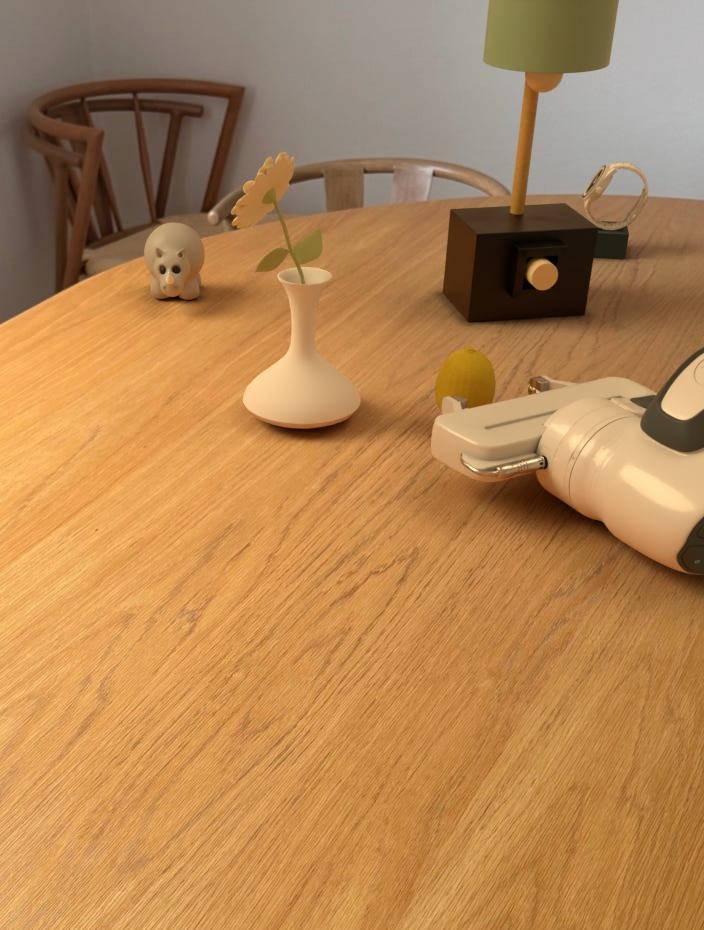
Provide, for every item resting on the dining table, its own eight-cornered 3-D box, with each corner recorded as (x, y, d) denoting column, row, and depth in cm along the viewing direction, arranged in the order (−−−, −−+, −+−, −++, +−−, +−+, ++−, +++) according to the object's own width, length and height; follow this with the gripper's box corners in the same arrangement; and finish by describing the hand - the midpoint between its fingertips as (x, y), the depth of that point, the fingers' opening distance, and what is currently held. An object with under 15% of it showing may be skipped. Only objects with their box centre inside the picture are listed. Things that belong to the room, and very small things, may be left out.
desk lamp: (593, 322, 143) (646, -6, 124) (474, 330, 141) (510, -2, 122) (552, 285, 153) (595, -23, 135) (441, 292, 152) (469, -19, 133)
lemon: (496, 438, 118) (506, 357, 113) (438, 440, 118) (446, 359, 113) (482, 414, 122) (491, 335, 118) (426, 416, 122) (433, 337, 118)
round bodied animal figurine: (137, 318, 145) (133, 245, 140) (149, 284, 155) (146, 214, 150) (199, 319, 145) (198, 245, 140) (207, 285, 155) (206, 215, 150)
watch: (573, 243, 167) (586, 157, 161) (636, 246, 166) (651, 160, 160) (574, 256, 163) (587, 168, 156) (639, 259, 161) (654, 171, 155)
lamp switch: (556, 289, 139) (560, 262, 137) (530, 291, 138) (533, 264, 137) (548, 282, 141) (551, 255, 139) (522, 283, 140) (525, 257, 139)
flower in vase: (313, 383, 129) (321, 126, 115) (383, 421, 121) (401, 150, 107) (206, 412, 123) (201, 146, 109) (273, 455, 115) (276, 173, 101)
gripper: (481, 514, 102) (392, 448, 112) (678, 463, 109) (576, 404, 119) (489, 444, 98) (396, 381, 109) (692, 395, 105) (586, 341, 116)
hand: (492, 393), depth 114 cm, fingers open, 8 cm apart
